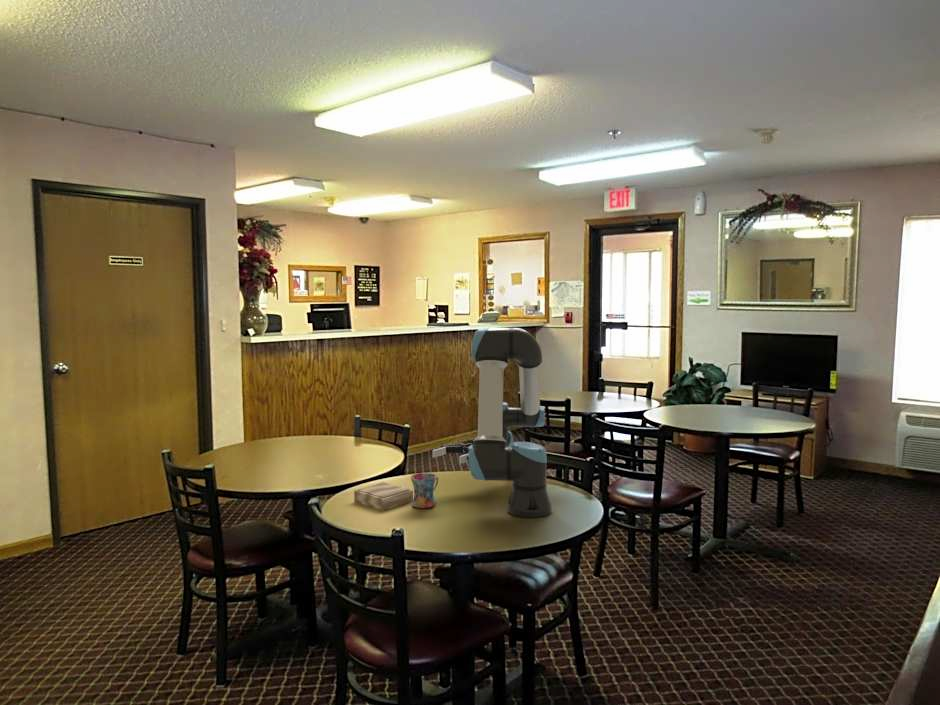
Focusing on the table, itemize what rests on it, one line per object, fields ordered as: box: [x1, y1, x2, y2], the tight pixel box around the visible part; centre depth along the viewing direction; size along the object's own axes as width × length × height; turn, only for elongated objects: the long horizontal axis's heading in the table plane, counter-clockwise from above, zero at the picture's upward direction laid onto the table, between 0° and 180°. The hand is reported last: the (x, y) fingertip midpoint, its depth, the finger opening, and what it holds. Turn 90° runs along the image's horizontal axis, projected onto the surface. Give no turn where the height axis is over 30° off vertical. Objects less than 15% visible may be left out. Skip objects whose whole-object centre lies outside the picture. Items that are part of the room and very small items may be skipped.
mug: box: [409, 472, 439, 509], centre depth 229 cm, size 12×9×11 cm
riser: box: [353, 481, 414, 511], centre depth 234 cm, size 16×14×4 cm
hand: (446, 457), depth 237 cm, fingers open, 13 cm apart
